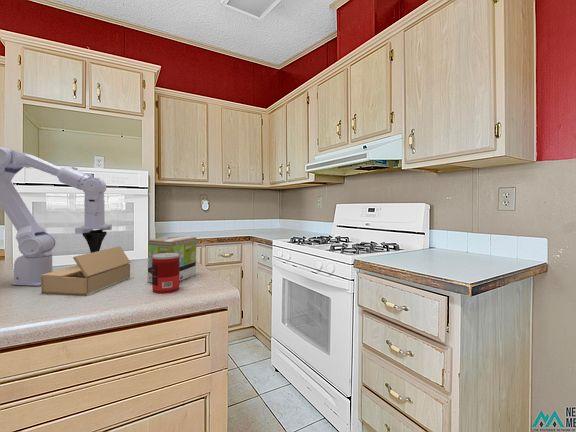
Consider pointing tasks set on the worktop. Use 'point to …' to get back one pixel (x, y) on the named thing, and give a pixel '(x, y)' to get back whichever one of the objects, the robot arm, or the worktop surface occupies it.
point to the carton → (81, 280)
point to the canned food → (165, 272)
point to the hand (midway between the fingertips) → (94, 252)
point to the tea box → (175, 245)
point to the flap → (101, 261)
